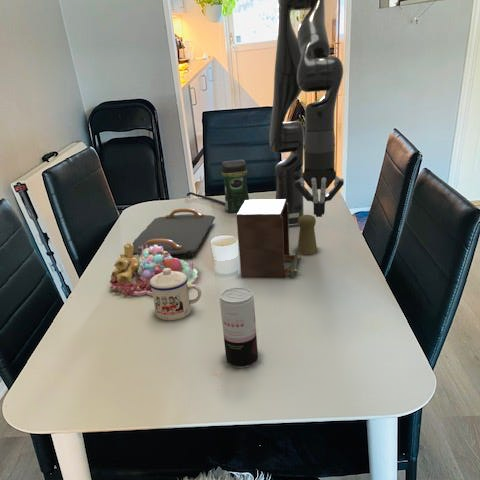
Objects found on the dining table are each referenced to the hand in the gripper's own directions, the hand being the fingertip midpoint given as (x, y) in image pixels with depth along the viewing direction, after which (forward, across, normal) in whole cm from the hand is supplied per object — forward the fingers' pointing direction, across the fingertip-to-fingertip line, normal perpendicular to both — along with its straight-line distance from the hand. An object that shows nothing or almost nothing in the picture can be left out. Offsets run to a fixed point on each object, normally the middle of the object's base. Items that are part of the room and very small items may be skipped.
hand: (319, 215), depth 131 cm
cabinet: (+15, +15, 0) cm, 21 cm away
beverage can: (+15, +13, +46) cm, 51 cm away
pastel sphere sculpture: (+16, +46, +8) cm, 49 cm away
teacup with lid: (+15, +32, +27) cm, 45 cm away
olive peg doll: (+16, +4, -13) cm, 21 cm away
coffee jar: (+16, +34, -56) cm, 67 cm away
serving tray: (+16, +50, -22) cm, 57 cm away
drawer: (+15, +12, 0) cm, 19 cm away
